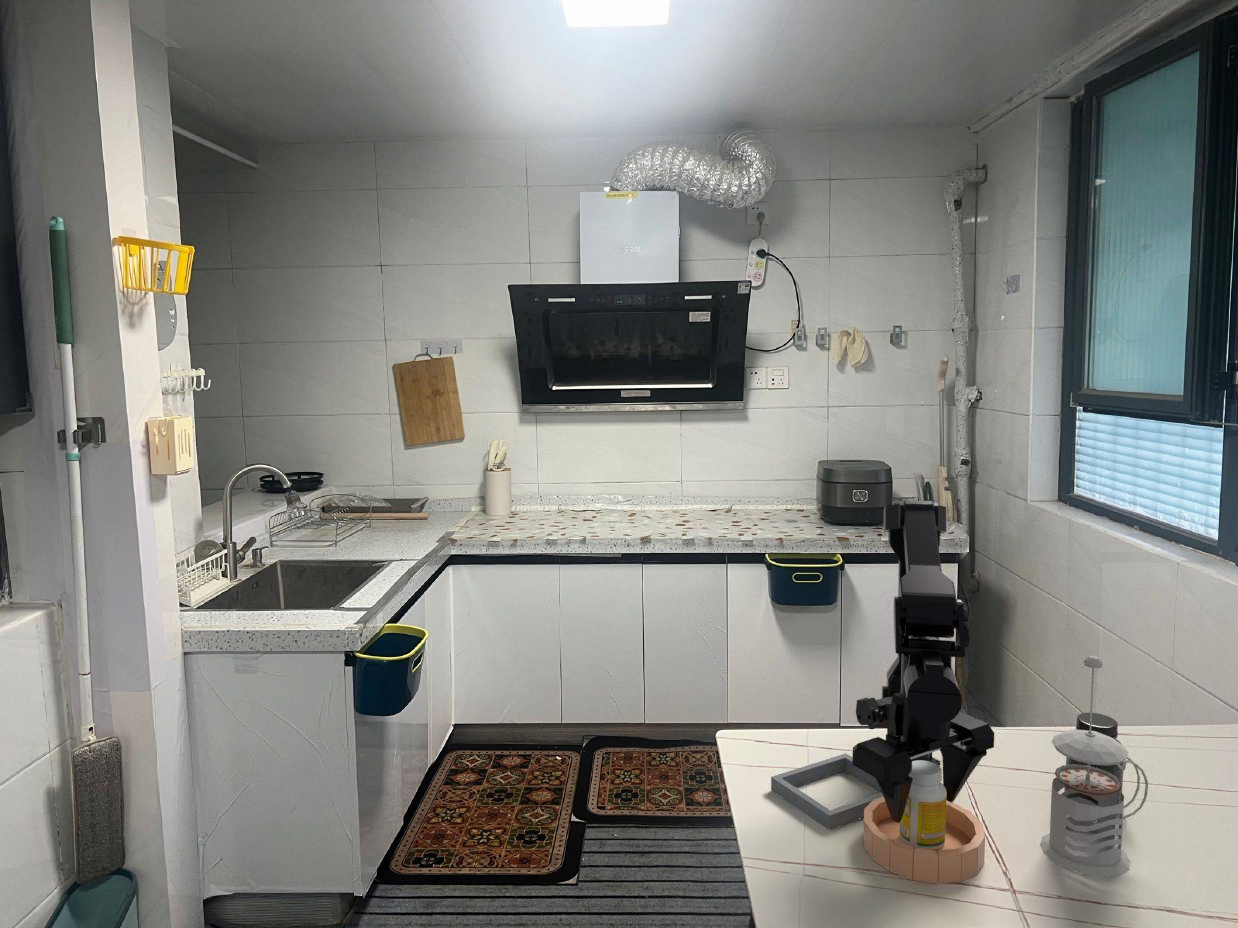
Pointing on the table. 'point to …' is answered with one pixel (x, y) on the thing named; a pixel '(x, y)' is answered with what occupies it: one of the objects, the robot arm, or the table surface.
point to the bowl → (934, 866)
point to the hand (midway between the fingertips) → (923, 810)
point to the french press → (1089, 802)
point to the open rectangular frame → (814, 809)
